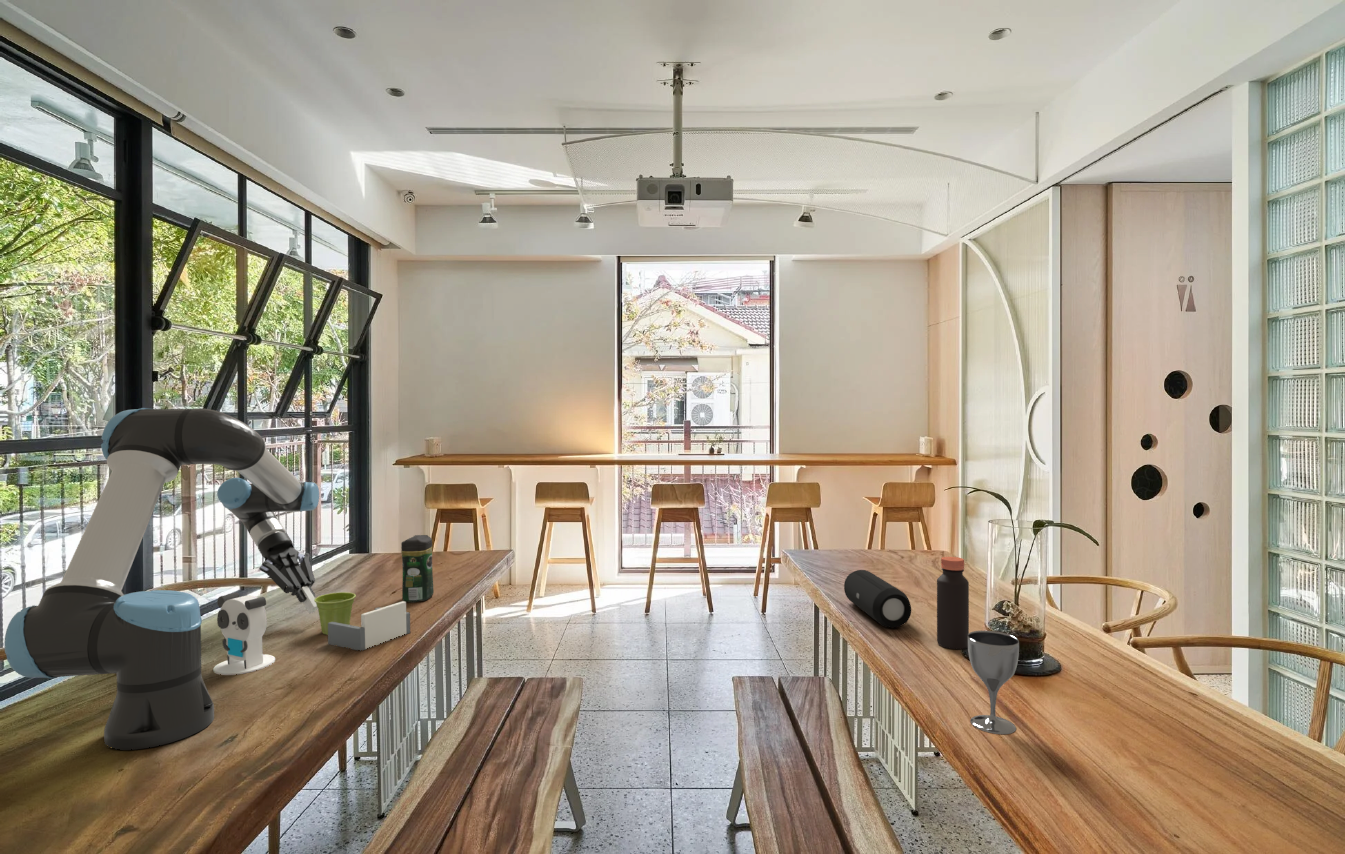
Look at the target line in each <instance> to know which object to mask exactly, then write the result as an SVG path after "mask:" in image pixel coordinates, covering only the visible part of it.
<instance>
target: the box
mask: <svg viewBox="0 0 1345 854" xmlns="http://www.w3.org/2000/svg"><path fill="white" fill-rule="evenodd" d="M360 622H361V625H360V626H356V625H351V624H350V625H347V624H342V623H337V622H330V623H328V635H327V644H328V645H331V646H335V645H337V646H336V647H340V648H344V647H346V649H349V648H351V649H350V650H353V651H354V650H355V651H358V650H360V651H359V652H362V651H364V650H367V648H368V649H370V648H372V646H373V647H375V646H374V645H376V646H378V645H381V644H383V642H384V643H386V642H389V641H391V640H390V639H392V640H394V638H395V639H397V638H399V637H398V636H400V637H402V635H403V636H405V635H408V634H411V612H408V611H407V601H403V600H402V601H399V602H396V603H393V604H389V605H387V606H383V607H380V606H379V607H374V610H371V611H367V612H364V613H362V614H360ZM404 634H405V635H404ZM396 637H397V638H396ZM385 641H386V642H385ZM380 643H381V644H380ZM347 647H348V648H347ZM369 647H370V648H369ZM361 650H362V651H361Z"/></svg>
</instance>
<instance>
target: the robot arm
mask: <svg viewBox="0 0 1345 854" xmlns="http://www.w3.org/2000/svg"><path fill="white" fill-rule="evenodd" d="M101 440H102V443H101V445H100V448H101V453H102V455H103V458H104V459H105V460H106V464H107V467H108V468H109V469H110V471H111V473H110V474H109V477H108V479H107V482H106V483H105V486H104V488H103V489H102V493H101V494H100V497H99V499H98V501H97V503H96V506H95V508H94V510H93V512H92V515H90V518H89V521H88V523H87V525H86V527H85V529H84V532H83V534H82V536H81V538H80V540H79V542H78V545H77V547H76V549H75V552H74V553H73V555H72V558H71V560H70V562H69V565H68V567H67V569H66V571H65V573H64V576H63V577H62V580H61V581H60V582H58V583H56V584H53V585H51V586H49V587H48V588H46V589H45V590H44V592H43V595H42V597H41V599H40V601H39V603H38V605H35V604H34V605H30V606H28V607H23V608H22V609H21V610H20V611H18V612H16V613H15V614H14V616H12V618H11V619H10V621H9V623H8V625H7V628H6V631H5V635H4V644H3V645H4V646H3V647H4V654H6V660H7V663H8V664H9V666H10V668H12V670H13V671H14V672H15V673H16V674H18V675H20V676H22V677H25V678H31V679H32V678H46V679H57V678H63V677H73V676H75V677H76V676H91V675H92V676H93V675H106V674H116V695H115V698H114V701H113V704H112V707H111V710H110V713H109V715H108V717H107V718H108V719H107V721H106V723H105V725H104V733H103V734H104V736H103V738H104V742H105V743H104V745H105V744H106V745H108V746H109V747H112V748H115V749H114V750H117V749H120V750H121V751H131V749H132V751H133V750H143V749H149V747H150V748H154V747H158V746H159V745H160V746H163V745H167V744H170V743H174V742H177V741H179V740H183V739H185V738H188V737H191V736H193V735H194V734H197V733H199V732H201V731H203V730H205V729H206V728H207V727H208V726H210V725H211V724H212V723H213V721H214V720H215V706H214V702H213V700H212V698H211V695H210V693H209V691H208V688H207V686H206V684H205V681H204V679H203V677H202V617H201V610H200V609H201V608H200V603H199V599H197V598H196V597H195V596H193V594H191V593H189V592H185V591H184V592H183V591H180V590H179V591H178V590H170V589H169V590H168V589H167V590H165V589H153V590H147V591H146V590H144V591H143V590H142V591H141V590H140V591H136V592H130V593H126V594H124V592H123V591H122V590H123V588H124V585H125V583H126V580H127V577H128V575H129V572H130V571H131V568H132V565H133V562H134V560H135V558H136V556H137V552H138V550H139V547H140V545H141V543H142V539H143V538H144V535H145V532H146V531H147V527H148V525H149V523H150V520H151V518H152V515H153V513H154V510H155V508H156V504H158V503H157V502H158V499H159V498H160V495H161V493H162V490H163V487H164V485H165V484H166V483H169V482H172V481H174V480H175V479H176V478H177V475H178V474H179V471H180V469H181V467H182V466H186V465H217V466H218V465H219V466H222V467H223V468H225V469H226V470H229V471H232V472H233V471H234V472H238V473H239V474H240V475H241V476H242V477H243V478H245V479H246V480H245V479H243V478H240V477H231V478H229V479H226V480H225V481H223V482H222V483H221V484H220V486H219V487H218V488H217V491H216V492H217V494H216V495H217V499H218V500H219V502H220V503H221V505H222V506H223V507H224V508H225V509H227V510H228V511H229V512H231V513H232V514H233V515H234V516H235V517H236V518H237V519H239V520H240V521H241V523H242V524H243V526H244V527H245V529H246V531H247V532H248V535H250V537H251V539H252V541H253V542H254V544H255V546H256V547H257V549H258V551H259V553H260V554H261V556H262V558H263V559H264V561H263V562H262V563H261V565H260V567H259V568H258V569H259V570H260V571H261V572H262V573H265V574H266V575H267V576H268V577H269V578H270V579H271V581H272V582H274V583H275V584H276V585H277V586H278V587H279V588H280V590H281V591H283V592H284V593H285V594H290V595H291V596H295V597H296V598H297V600H298V602H300V603H302V604H303V605H304V607H305V609H306V611H307V612H308V614H313V613H315V612H316V611H317V610H318V607H317V605H316V602H315V601H314V599H315V598H316V594H315V592H314V590H313V588H312V587H313V585H314V584H315V582H316V578H315V575H314V572H313V569H312V566H311V562H310V556H311V555H310V553H309V552H306V553H304V554H302V553H299V550H297V549H296V548H295V547H294V543H293V540H292V539H291V537H290V536H289V534H288V533H287V531H286V530H285V528H284V526H283V525H282V523H281V521H280V519H279V518H278V517H277V515H276V513H280V512H281V513H282V512H284V513H285V512H287V513H288V512H289V513H290V512H291V513H292V512H300V513H301V512H306V511H314V510H315V509H317V507H318V506H319V502H320V501H319V500H320V490H319V489H320V488H319V486H318V484H316V483H315V482H311V481H309V482H307V481H303V482H301V481H300V480H299V479H298V478H297V477H296V476H295V475H294V474H293V473H292V472H290V471H289V469H287V467H286V466H284V464H282V463H281V462H280V460H278V458H276V456H274V455H273V453H271V451H269V450H268V449H267V447H266V446H267V445H266V443H265V440H264V438H263V437H262V436H261V435H260V433H258V432H257V431H256V430H255V429H254V428H252V427H251V426H250V425H248V424H246V423H245V422H244V421H241V420H239V419H238V418H236V417H234V416H231V415H229V414H226V413H224V412H221V411H217V410H215V409H209V408H148V407H141V408H138V409H127V410H123V411H120V412H118V413H116V414H114V416H112V417H111V418H110V419H109V421H108V422H107V423H106V425H105V426H104V429H103V431H102V433H101ZM106 745H105V746H106ZM109 747H108V748H109ZM112 748H111V749H112Z"/></svg>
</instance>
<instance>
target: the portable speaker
mask: <svg viewBox="0 0 1345 854" xmlns="http://www.w3.org/2000/svg"><path fill="white" fill-rule="evenodd" d="M843 587H844V588H843V590H844V594H845V597H846V598H847V600H849V601H850V602H851V603H853V604H854V605H855V606H857V607H858V608H859V609H860V610H861V611H863V612H864V613H865V614H867V615H868V616H869V617H871V618H872V619H873V620H875V621H876V622H877V623H878V624H880V625H881V626H883V627H884V628H887V627H891V628H892V627H893V628H898V627H899V628H900V627H901V626H903V625H906V623H907V622H908V621H909V619H910V618H911V615H912V606H911V605H912V604H911V602H910V600H909V597H908V596H907V594H906V593H904V592H903V591H902V590H900V589H899V588H897V587H896V586H894V585H892V584H890V583H889V582H888V581H886V580H884V579H883V578H880V577H879V576H877V575H876V574H874V573H873V572H871V571H869V570H865V569H857V570H855V571H852V572H850V573H849V574H848V575H847V576H846V577H845V580H844V585H843ZM891 628H890V629H891Z"/></svg>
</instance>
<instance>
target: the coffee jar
mask: <svg viewBox="0 0 1345 854" xmlns="http://www.w3.org/2000/svg"><path fill="white" fill-rule="evenodd" d="M400 544H401V546H400V548H401V549H400V550H401V551H400V552H401V560H402V564H401V565H402V566H401V567H402V590H401V591H402V594H401V597H402V601H404V602H407V603H417V602H424V601H427V600H428V599H430V598H432V596H433V595H434V575H433V573H434V572H433V539H432V537H430V536H429V535H428V534H417V535H416V534H415V535H413V536H412V537H409V538H407V539H405V540H403V541H402V542H401V543H400Z"/></svg>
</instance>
